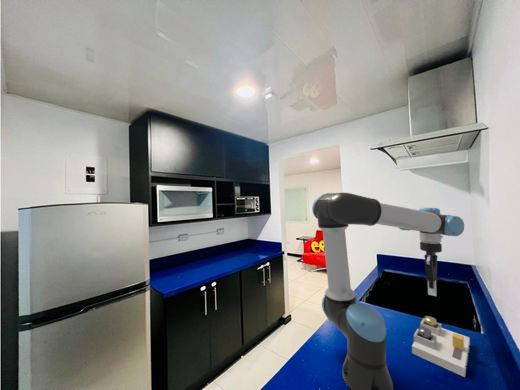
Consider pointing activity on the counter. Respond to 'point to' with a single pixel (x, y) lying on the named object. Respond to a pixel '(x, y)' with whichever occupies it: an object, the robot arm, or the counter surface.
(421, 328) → the grey button
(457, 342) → the slider knob
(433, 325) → the brass button
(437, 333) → the console
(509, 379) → the counter surface
